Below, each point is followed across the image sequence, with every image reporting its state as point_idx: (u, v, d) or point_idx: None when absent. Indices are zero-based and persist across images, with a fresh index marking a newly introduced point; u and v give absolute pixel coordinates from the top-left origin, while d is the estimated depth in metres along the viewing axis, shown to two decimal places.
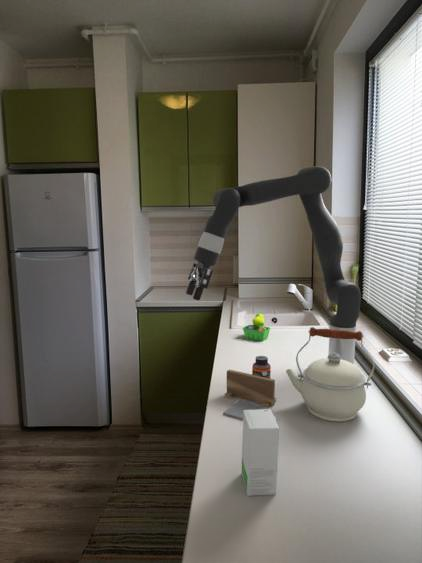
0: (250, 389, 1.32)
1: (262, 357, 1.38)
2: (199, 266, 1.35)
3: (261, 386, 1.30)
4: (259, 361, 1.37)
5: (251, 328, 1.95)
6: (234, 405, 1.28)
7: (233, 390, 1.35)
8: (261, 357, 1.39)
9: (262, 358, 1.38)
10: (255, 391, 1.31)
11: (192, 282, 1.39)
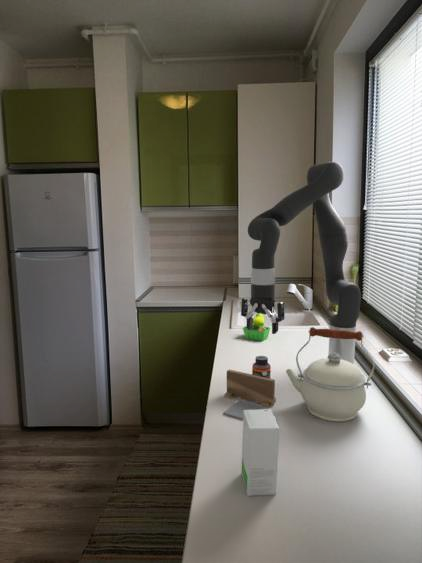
0: (250, 389, 1.32)
1: (262, 357, 1.38)
2: (260, 301, 1.34)
3: (261, 386, 1.30)
4: (259, 361, 1.37)
5: None
6: (234, 405, 1.28)
7: (233, 390, 1.35)
8: (261, 357, 1.39)
9: (262, 358, 1.38)
10: (255, 391, 1.31)
11: (250, 317, 1.38)
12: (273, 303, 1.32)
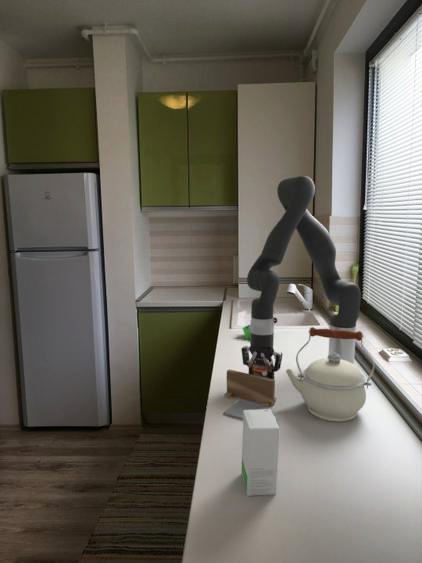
0: (250, 389, 1.32)
1: None
2: (259, 350, 1.37)
3: (261, 386, 1.30)
4: (259, 361, 1.37)
5: None
6: (234, 405, 1.28)
7: (233, 390, 1.35)
8: None
9: None
10: (255, 391, 1.31)
11: None
12: (272, 353, 1.35)
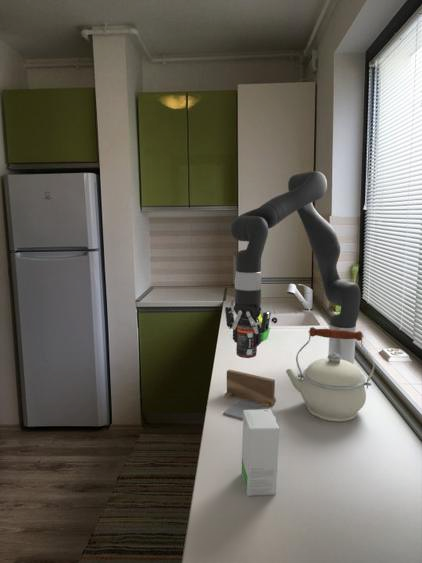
0: (250, 389, 1.32)
1: None
2: (245, 308, 1.21)
3: (261, 386, 1.30)
4: (244, 321, 1.21)
5: None
6: (234, 405, 1.28)
7: (233, 390, 1.35)
8: None
9: None
10: (255, 391, 1.31)
11: None
12: (259, 311, 1.19)
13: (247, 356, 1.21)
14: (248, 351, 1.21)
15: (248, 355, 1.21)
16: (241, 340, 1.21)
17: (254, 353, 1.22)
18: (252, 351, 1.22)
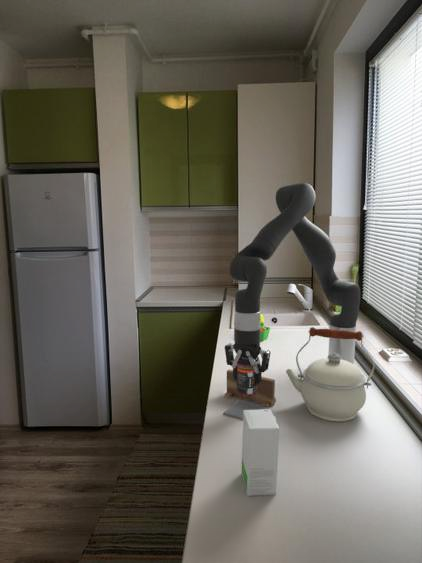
0: None
1: None
2: (245, 348, 1.21)
3: (261, 386, 1.30)
4: (244, 360, 1.21)
5: None
6: (234, 405, 1.28)
7: (233, 390, 1.35)
8: None
9: None
10: None
11: None
12: (259, 351, 1.19)
13: (247, 395, 1.21)
14: (249, 390, 1.21)
15: (248, 394, 1.21)
16: (241, 379, 1.21)
17: (254, 392, 1.22)
18: (253, 390, 1.22)
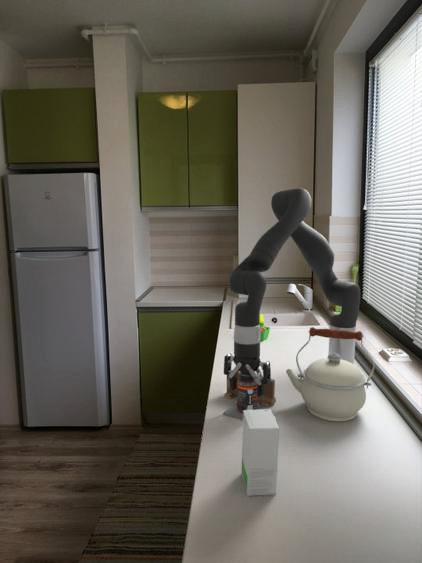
0: None
1: None
2: (244, 361, 1.22)
3: None
4: (244, 378, 1.22)
5: None
6: (234, 405, 1.28)
7: (233, 390, 1.35)
8: None
9: None
10: None
11: (234, 376, 1.25)
12: (258, 363, 1.20)
13: None
14: (249, 407, 1.22)
15: None
16: (241, 396, 1.22)
17: (254, 408, 1.23)
18: (253, 406, 1.22)
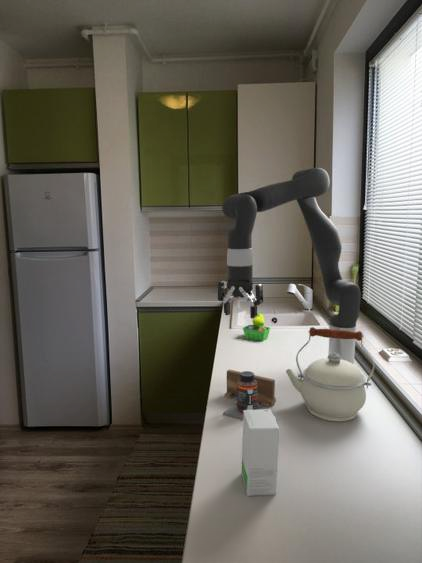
0: None
1: (248, 373, 1.23)
2: (237, 284, 1.26)
3: (261, 386, 1.30)
4: (244, 378, 1.22)
5: (251, 328, 1.95)
6: (234, 405, 1.28)
7: (233, 390, 1.35)
8: (246, 373, 1.24)
9: (248, 374, 1.23)
10: None
11: (227, 301, 1.30)
12: (251, 285, 1.24)
13: None
14: (249, 407, 1.22)
15: None
16: (241, 396, 1.22)
17: (254, 408, 1.23)
18: (253, 406, 1.22)
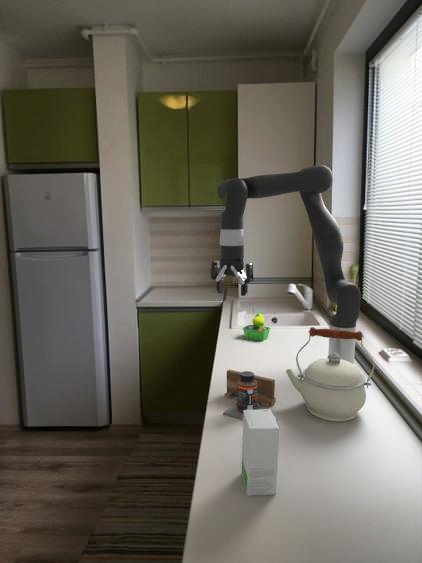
0: None
1: (248, 373, 1.23)
2: (229, 263, 1.34)
3: (261, 386, 1.30)
4: (244, 378, 1.22)
5: (251, 328, 1.95)
6: (234, 405, 1.28)
7: (233, 390, 1.35)
8: (246, 373, 1.24)
9: (248, 374, 1.23)
10: None
11: (220, 280, 1.37)
12: (242, 264, 1.32)
13: None
14: (249, 407, 1.22)
15: None
16: (241, 396, 1.22)
17: (254, 408, 1.23)
18: (253, 406, 1.22)
